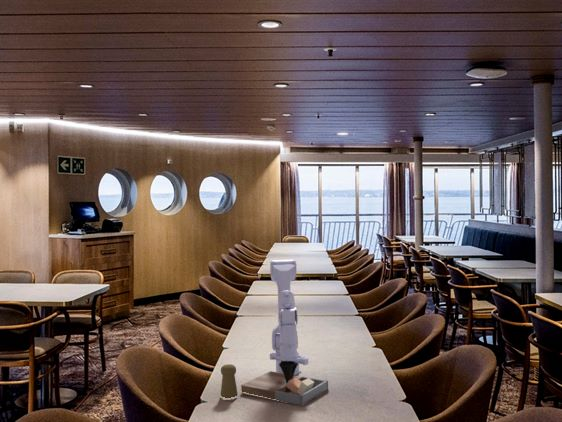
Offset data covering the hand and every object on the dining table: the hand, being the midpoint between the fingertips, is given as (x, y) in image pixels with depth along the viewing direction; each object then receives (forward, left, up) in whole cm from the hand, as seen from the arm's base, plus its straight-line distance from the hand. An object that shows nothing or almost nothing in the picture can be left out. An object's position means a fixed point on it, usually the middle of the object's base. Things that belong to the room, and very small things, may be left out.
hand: (289, 382), depth 192 cm
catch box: (0, +5, -3) cm, 6 cm away
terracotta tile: (0, +2, -2) cm, 3 cm away
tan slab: (0, -7, -3) cm, 8 cm away
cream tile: (0, +6, 0) cm, 6 cm away
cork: (+14, -15, -4) cm, 21 cm away
